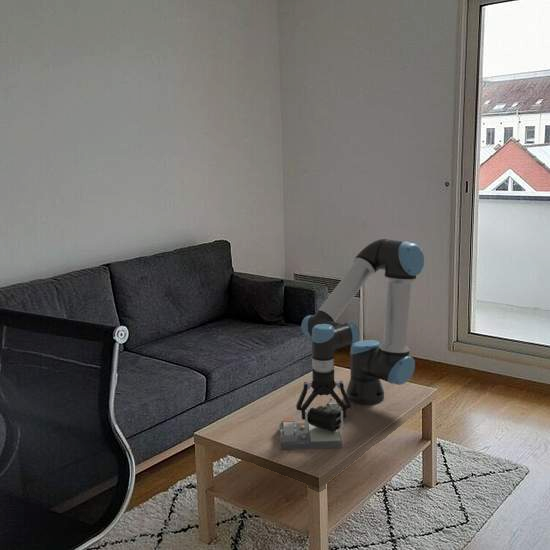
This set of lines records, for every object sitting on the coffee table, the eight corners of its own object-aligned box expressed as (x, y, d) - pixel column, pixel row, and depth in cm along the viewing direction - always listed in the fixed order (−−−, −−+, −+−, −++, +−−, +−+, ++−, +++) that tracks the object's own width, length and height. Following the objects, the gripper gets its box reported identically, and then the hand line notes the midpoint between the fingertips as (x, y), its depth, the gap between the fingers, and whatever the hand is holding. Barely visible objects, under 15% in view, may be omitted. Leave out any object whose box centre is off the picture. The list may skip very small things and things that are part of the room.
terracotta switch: (292, 425, 239) (292, 416, 238) (293, 430, 236) (293, 421, 235) (283, 426, 239) (282, 417, 238) (283, 430, 236) (283, 421, 235)
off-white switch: (293, 431, 232) (293, 421, 231) (293, 435, 228) (293, 426, 228) (283, 431, 232) (283, 422, 231) (283, 436, 228) (283, 426, 228)
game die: (338, 429, 248) (354, 411, 245) (323, 428, 243) (339, 410, 239) (326, 411, 254) (342, 393, 250) (312, 410, 248) (327, 392, 245)
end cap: (306, 428, 234) (306, 410, 232) (318, 420, 239) (318, 403, 238) (330, 435, 228) (330, 417, 226) (341, 428, 233) (341, 410, 232)
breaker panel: (337, 427, 242) (337, 417, 241) (341, 447, 227) (341, 436, 226) (279, 429, 242) (279, 418, 241) (280, 449, 227) (280, 438, 226)
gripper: (288, 374, 225) (290, 432, 230) (359, 372, 225) (359, 430, 230) (288, 366, 232) (289, 423, 237) (356, 364, 232) (356, 421, 237)
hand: (323, 427), depth 234 cm, fingers closed on end cap, 12 cm apart
